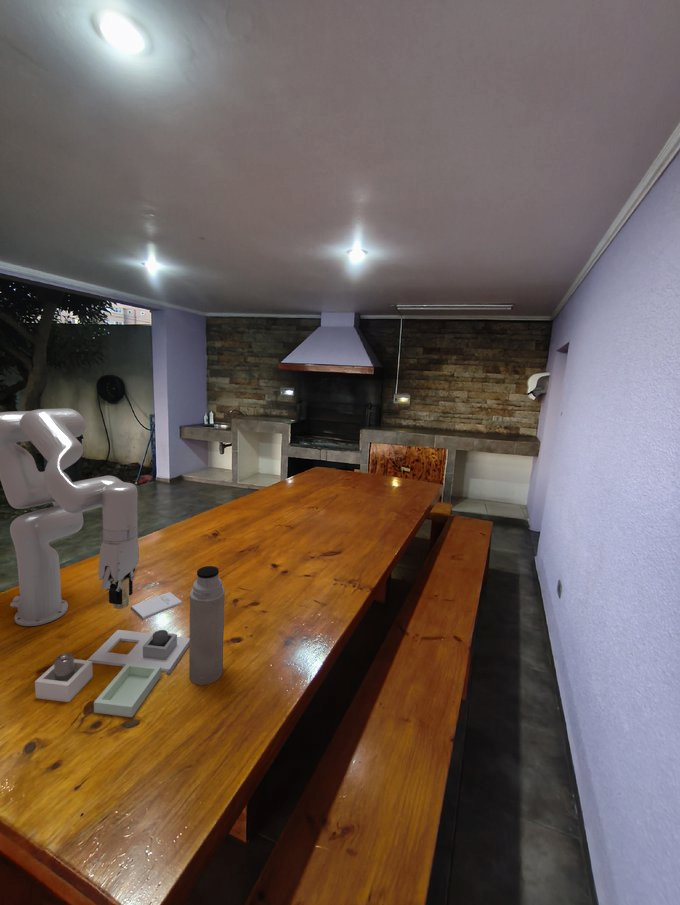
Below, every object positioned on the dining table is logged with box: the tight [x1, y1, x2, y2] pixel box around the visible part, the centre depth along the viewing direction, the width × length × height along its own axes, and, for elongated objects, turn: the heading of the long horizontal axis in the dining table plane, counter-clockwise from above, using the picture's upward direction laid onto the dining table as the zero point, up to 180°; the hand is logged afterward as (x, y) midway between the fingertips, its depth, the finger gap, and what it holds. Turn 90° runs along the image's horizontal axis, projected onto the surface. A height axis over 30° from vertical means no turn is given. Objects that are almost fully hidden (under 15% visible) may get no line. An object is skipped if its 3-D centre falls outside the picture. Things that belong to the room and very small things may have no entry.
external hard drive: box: [130, 591, 183, 621], centre depth 124 cm, size 2×8×12 cm
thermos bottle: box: [188, 565, 226, 686], centre depth 96 cm, size 8×8×28 cm
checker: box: [87, 629, 190, 676], centre depth 103 cm, size 21×12×4 cm, turn 86°
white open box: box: [34, 658, 94, 703], centre depth 89 cm, size 8×8×5 cm
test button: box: [152, 629, 169, 647], centre depth 102 cm, size 4×4×4 cm
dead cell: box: [53, 653, 75, 682], centre depth 89 cm, size 4×4×8 cm
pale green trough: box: [93, 663, 162, 718], centre depth 89 cm, size 8×12×3 cm
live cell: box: [112, 576, 130, 610], centre depth 100 cm, size 4×4×8 cm
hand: (121, 598), depth 101 cm, fingers closed on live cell, 3 cm apart
